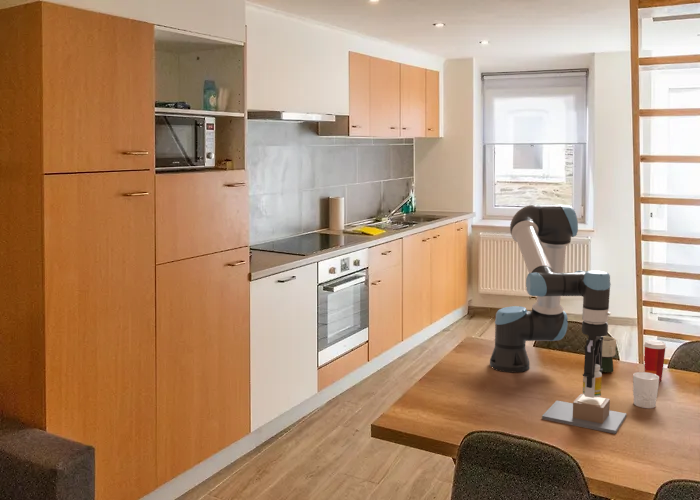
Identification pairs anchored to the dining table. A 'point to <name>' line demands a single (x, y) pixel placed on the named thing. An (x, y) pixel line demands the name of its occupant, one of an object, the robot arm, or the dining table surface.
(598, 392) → the supplement bottle
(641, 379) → the white cup
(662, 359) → the paper cup
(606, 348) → the character mug
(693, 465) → the dining table surface
